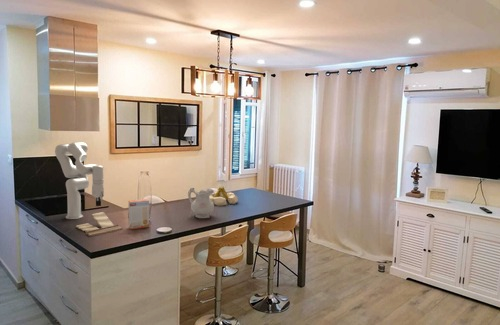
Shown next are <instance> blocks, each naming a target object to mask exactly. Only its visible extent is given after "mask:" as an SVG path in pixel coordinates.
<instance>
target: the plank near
mask: <svg viewBox="0 0 500 325" xmlns="http://www.w3.org/2000/svg"><path fill="white" fill-rule="evenodd" d="M75 228H77V229H79V230H81V231H83V232H84V231H85V233H86V232H87V231H92V230H96V229H100V228H98V227H97V226H94V225H93V224H90V223H89V222H88V223H83V224H82V223H81V224H78V225H76V226H75Z"/></svg>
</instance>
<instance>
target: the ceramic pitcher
mask: <svg viewBox="0 0 500 325" xmlns="http://www.w3.org/2000/svg"><path fill="white" fill-rule="evenodd" d="M191 193H194V195H195V199H194V200H193V198H192V196H191ZM213 193H215V190H213V189H212V188H211V187H210V188H207V189H206V190H204V189H201V190H200V191H196V190H195V188H194V187H190V189H189V190H188V193H187V197H188V200H189V202H190V208H191V211H192V213H193V214H195V218H198V219H209V218H211V216H210V214H212V213H213V211H214V209H215V204H214V201H213V202H212V201H211V200H210V198H209V196H210V195H211V194H212V195H213Z"/></svg>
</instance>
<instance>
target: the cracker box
mask: <svg viewBox="0 0 500 325" xmlns="http://www.w3.org/2000/svg"><path fill="white" fill-rule="evenodd" d="M128 228H129V230H137V229H145V228H146V229H148V228H150V200H149V199H147V198H146V199H145V198H144V199H134V200H133V199H132V200H131V199H130V200H128Z"/></svg>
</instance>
